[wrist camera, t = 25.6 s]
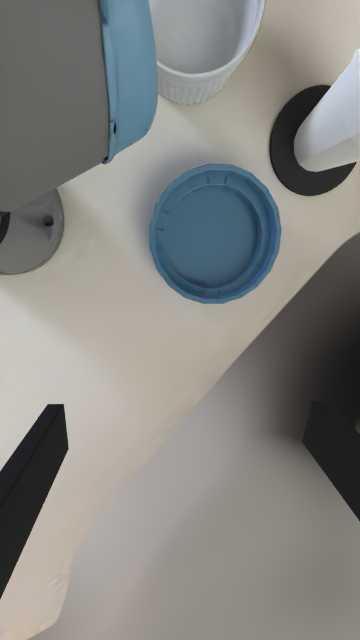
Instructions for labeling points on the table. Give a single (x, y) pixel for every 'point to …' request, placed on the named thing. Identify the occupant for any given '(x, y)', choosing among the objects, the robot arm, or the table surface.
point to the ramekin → (201, 44)
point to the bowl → (215, 233)
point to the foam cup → (333, 125)
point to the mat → (283, 148)
